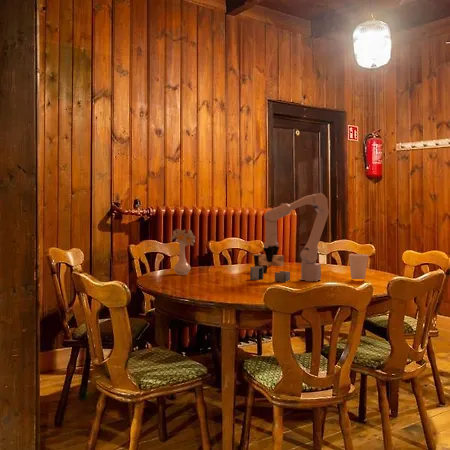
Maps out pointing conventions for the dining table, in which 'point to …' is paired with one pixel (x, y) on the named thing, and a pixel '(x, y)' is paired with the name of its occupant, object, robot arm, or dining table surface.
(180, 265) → the flower vase
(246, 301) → the dining table surface
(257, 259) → the coffee mug
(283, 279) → the open end cap
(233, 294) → the dining table surface
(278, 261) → the light brown long block
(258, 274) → the grey rectangular block
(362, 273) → the foam cup
